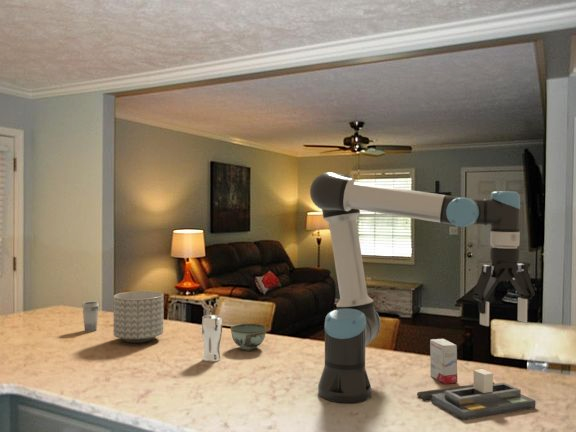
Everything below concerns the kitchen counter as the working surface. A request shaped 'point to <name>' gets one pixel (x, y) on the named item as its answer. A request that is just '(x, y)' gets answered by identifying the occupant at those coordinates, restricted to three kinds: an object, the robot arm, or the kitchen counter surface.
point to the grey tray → (482, 401)
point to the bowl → (248, 335)
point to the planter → (138, 315)
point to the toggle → (482, 381)
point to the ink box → (443, 360)
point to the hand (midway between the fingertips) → (503, 323)
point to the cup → (90, 315)
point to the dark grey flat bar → (439, 391)
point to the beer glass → (211, 337)
